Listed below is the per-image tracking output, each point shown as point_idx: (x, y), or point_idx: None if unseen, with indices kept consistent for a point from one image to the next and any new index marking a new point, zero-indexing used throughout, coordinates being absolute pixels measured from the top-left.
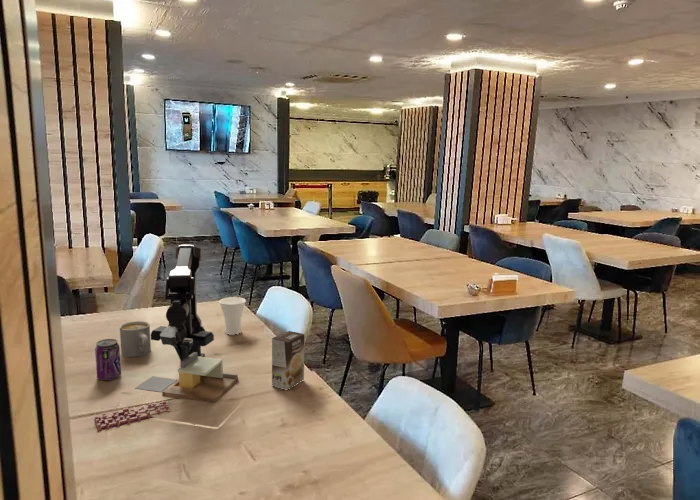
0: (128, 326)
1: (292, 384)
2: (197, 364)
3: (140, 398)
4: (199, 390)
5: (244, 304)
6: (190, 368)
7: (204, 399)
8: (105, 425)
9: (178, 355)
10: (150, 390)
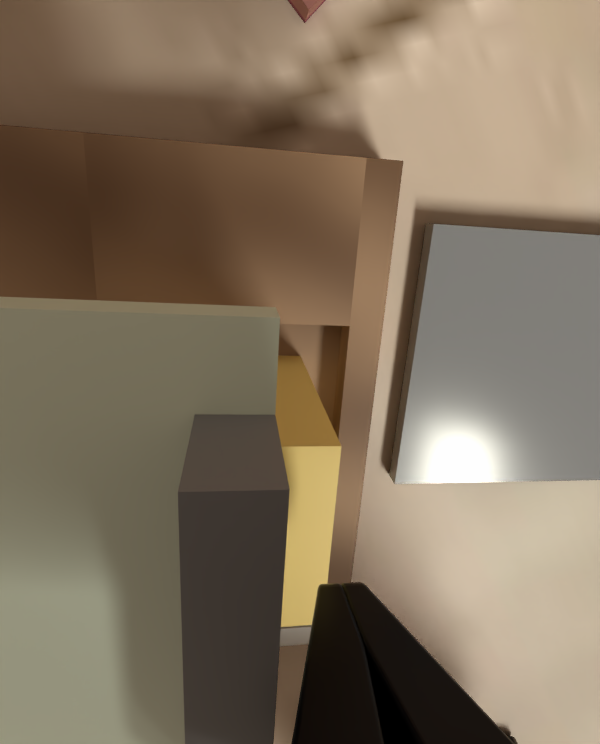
0: None
1: None
2: (50, 611)
3: (575, 76)
4: (9, 293)
5: None
6: (54, 432)
7: None
8: None
9: (462, 696)
10: (540, 231)
